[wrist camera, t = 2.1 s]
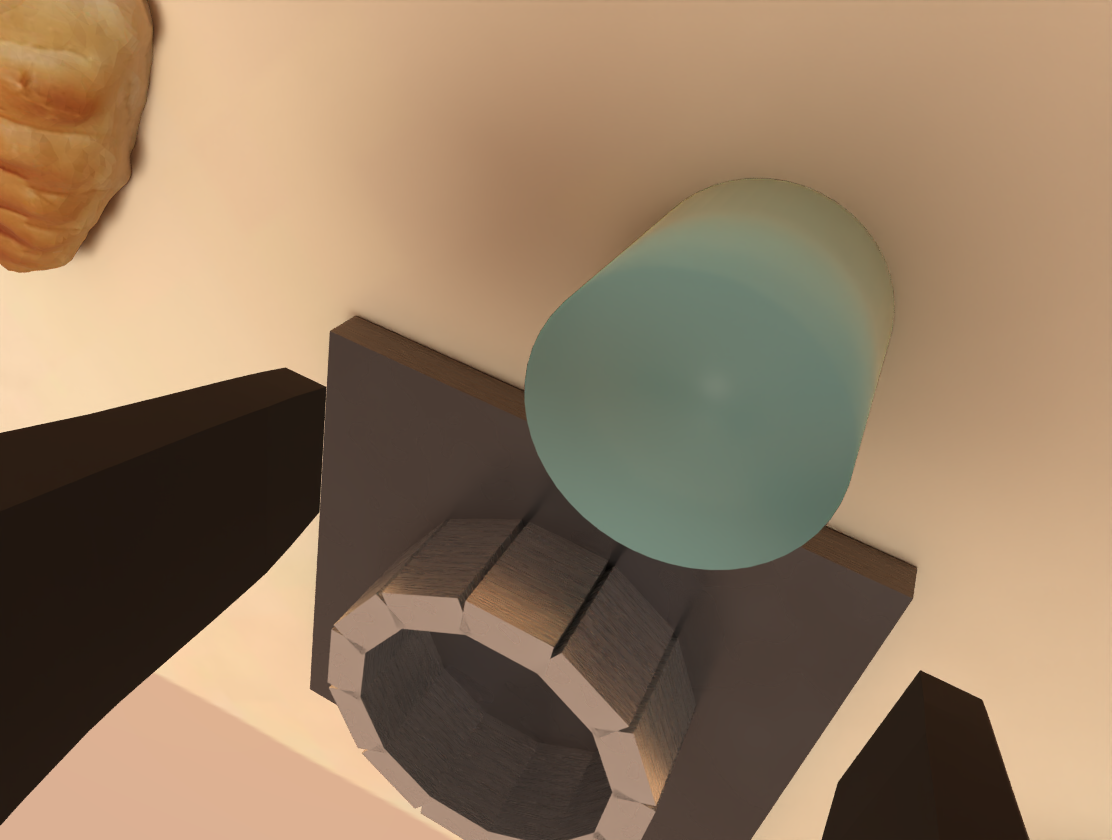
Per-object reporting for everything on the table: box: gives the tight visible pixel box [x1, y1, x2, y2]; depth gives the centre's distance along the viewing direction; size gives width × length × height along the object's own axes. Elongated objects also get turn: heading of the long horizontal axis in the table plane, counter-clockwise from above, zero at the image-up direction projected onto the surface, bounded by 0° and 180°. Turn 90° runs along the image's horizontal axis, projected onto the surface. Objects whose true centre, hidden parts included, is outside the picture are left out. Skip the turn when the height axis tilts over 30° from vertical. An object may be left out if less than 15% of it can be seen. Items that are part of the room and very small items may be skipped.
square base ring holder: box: [310, 316, 917, 840], centre depth 21 cm, size 14×14×4 cm
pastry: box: [0, 0, 153, 273], centre depth 20 cm, size 9×7×4 cm
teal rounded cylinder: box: [525, 178, 894, 570], centre depth 14 cm, size 5×5×5 cm
